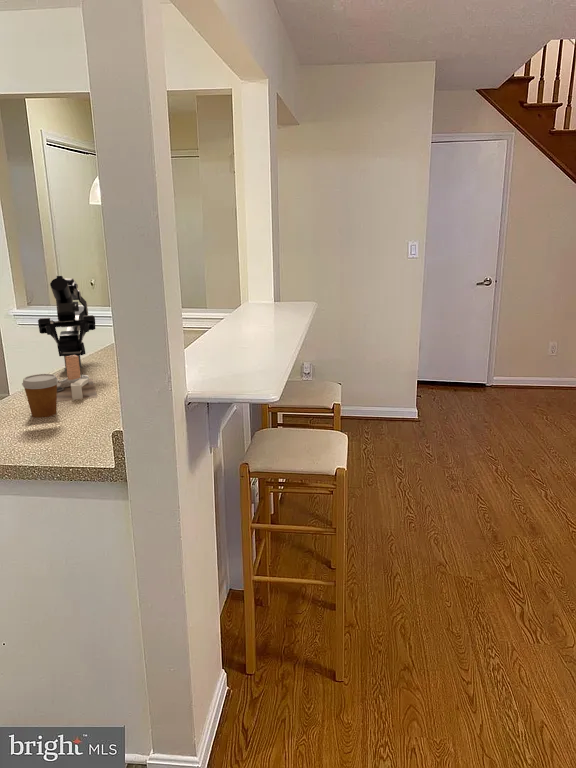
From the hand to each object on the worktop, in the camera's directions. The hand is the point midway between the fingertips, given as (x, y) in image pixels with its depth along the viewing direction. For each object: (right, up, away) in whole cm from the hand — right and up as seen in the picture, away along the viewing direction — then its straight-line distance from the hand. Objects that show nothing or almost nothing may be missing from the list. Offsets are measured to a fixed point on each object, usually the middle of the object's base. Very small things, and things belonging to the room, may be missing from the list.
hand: (69, 344), depth 200 cm
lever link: (+2, -14, -8) cm, 16 cm away
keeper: (+10, -18, -17) cm, 27 cm away
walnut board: (+5, -17, -11) cm, 21 cm away
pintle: (-1, -16, -11) cm, 19 cm away
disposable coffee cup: (+6, -24, -34) cm, 42 cm away
